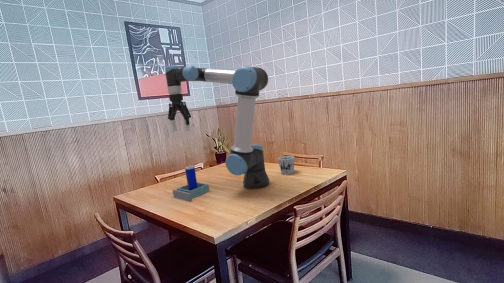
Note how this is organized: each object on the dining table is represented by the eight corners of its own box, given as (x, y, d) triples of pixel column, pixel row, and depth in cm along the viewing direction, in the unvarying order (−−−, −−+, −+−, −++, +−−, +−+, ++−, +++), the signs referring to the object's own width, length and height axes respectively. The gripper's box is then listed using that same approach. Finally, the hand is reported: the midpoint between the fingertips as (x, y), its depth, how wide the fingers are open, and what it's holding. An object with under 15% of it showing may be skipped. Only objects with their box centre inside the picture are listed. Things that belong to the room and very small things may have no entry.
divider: (192, 200, 143) (191, 193, 143) (190, 201, 142) (189, 194, 142) (175, 196, 154) (174, 189, 153) (173, 196, 153) (172, 189, 153)
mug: (278, 175, 171) (277, 160, 169) (280, 169, 185) (278, 155, 184) (295, 174, 169) (294, 158, 168) (296, 168, 184) (294, 153, 182)
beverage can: (189, 191, 158) (185, 166, 156) (198, 190, 158) (194, 164, 156) (188, 194, 153) (184, 168, 151) (197, 193, 153) (193, 166, 151)
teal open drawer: (209, 191, 156) (208, 184, 155) (190, 198, 147) (189, 191, 146) (195, 188, 164) (195, 181, 164) (177, 195, 155) (176, 188, 155)
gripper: (193, 91, 152) (199, 129, 155) (169, 95, 169) (175, 130, 172) (182, 92, 146) (188, 131, 149) (158, 96, 163) (164, 132, 166)
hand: (181, 131), depth 161 cm, fingers open, 13 cm apart
